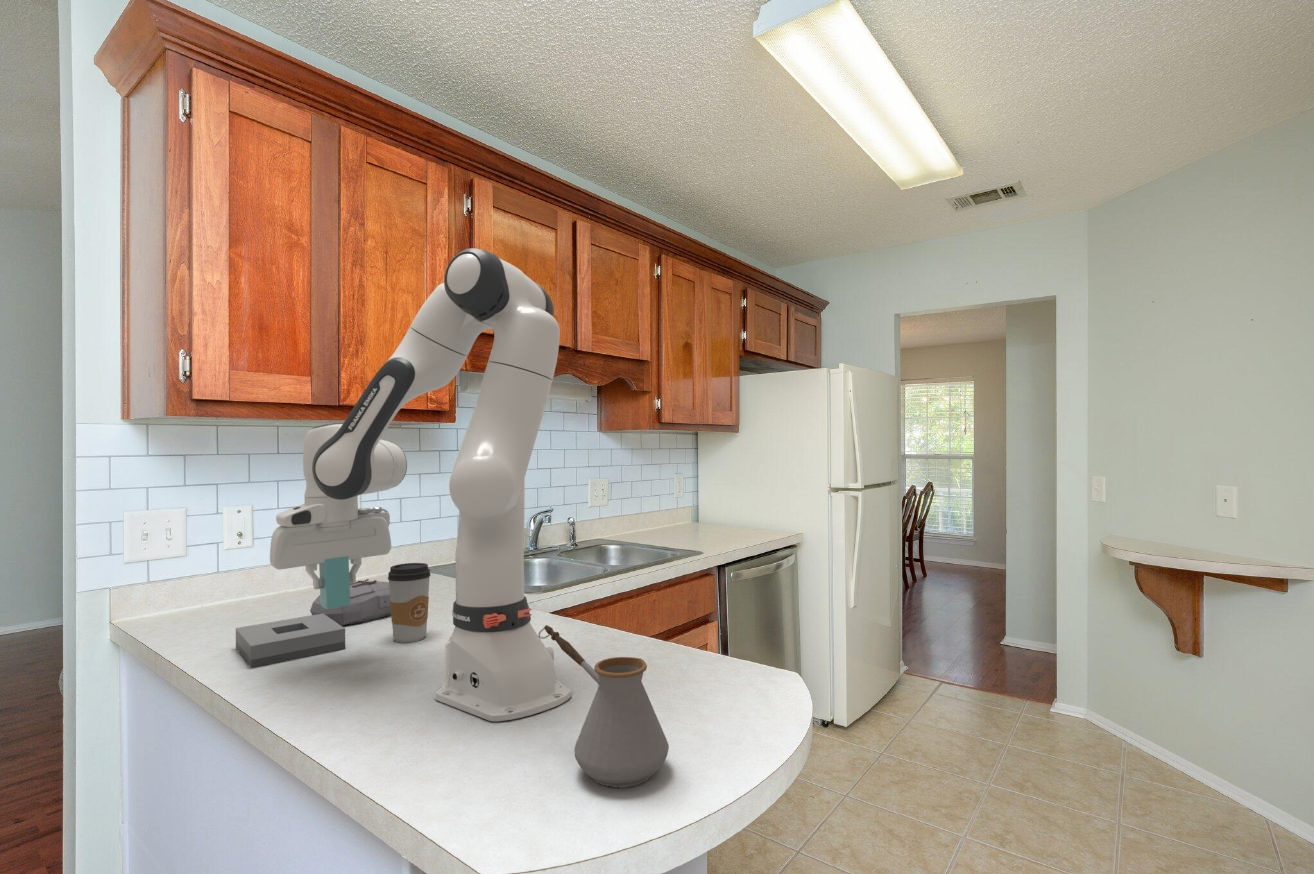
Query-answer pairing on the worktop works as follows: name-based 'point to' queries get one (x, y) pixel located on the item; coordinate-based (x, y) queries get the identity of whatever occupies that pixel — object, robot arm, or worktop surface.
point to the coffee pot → (617, 723)
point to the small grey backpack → (359, 604)
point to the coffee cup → (409, 601)
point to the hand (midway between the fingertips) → (334, 585)
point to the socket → (289, 639)
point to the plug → (335, 583)
